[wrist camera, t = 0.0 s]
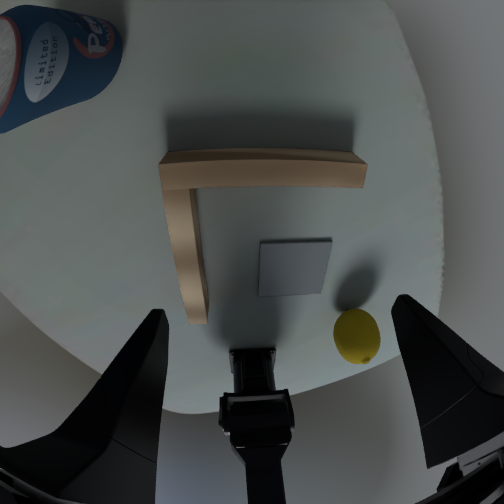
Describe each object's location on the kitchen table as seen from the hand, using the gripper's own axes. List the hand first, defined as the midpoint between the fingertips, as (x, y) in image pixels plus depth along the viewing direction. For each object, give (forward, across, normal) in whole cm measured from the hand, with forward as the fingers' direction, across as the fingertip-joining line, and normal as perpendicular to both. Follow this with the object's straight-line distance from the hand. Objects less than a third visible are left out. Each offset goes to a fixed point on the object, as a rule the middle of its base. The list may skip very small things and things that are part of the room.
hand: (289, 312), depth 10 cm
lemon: (+15, -12, +18) cm, 27 cm away
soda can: (+15, +13, -11) cm, 22 cm away
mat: (+15, -4, +11) cm, 19 cm away
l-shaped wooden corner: (+15, 0, +7) cm, 16 cm away
